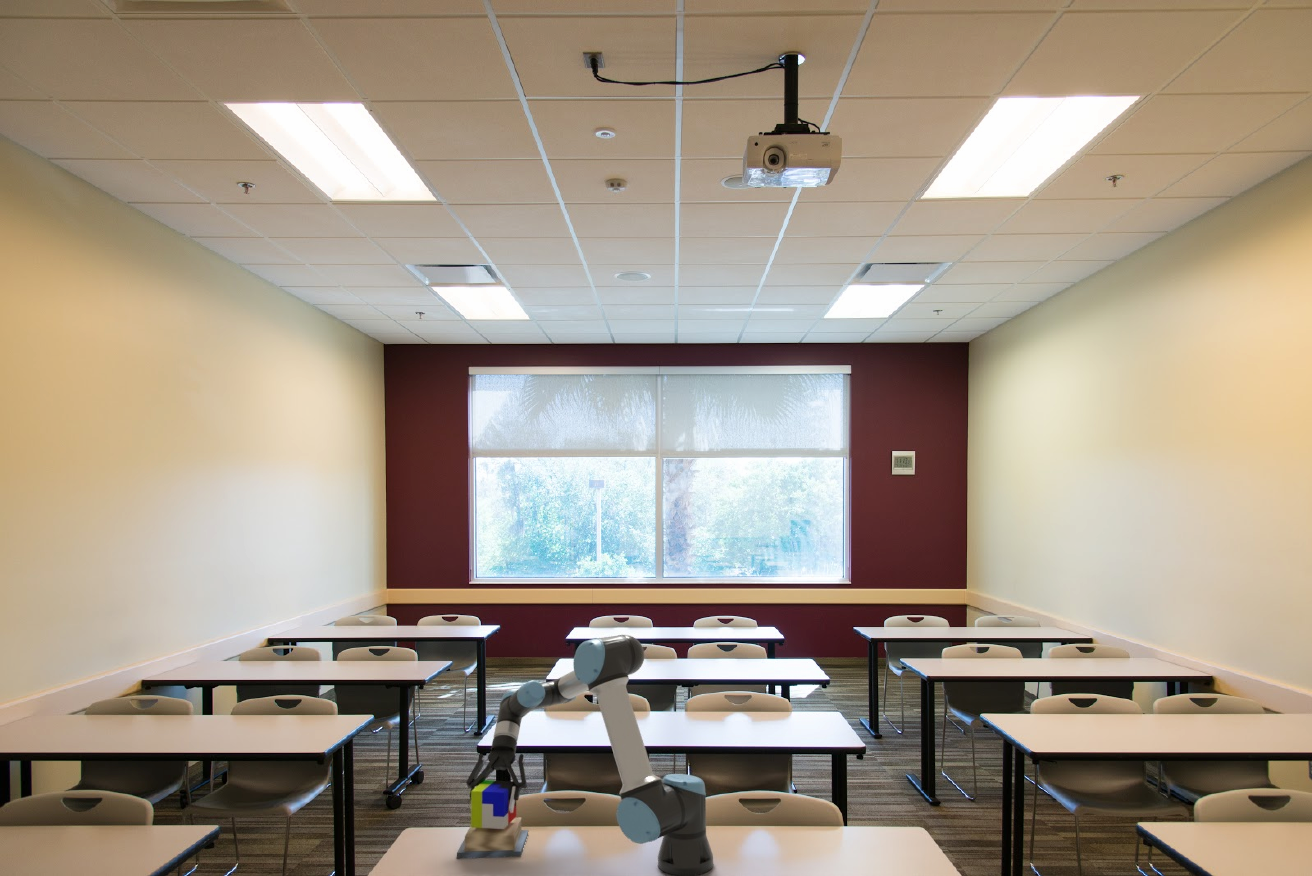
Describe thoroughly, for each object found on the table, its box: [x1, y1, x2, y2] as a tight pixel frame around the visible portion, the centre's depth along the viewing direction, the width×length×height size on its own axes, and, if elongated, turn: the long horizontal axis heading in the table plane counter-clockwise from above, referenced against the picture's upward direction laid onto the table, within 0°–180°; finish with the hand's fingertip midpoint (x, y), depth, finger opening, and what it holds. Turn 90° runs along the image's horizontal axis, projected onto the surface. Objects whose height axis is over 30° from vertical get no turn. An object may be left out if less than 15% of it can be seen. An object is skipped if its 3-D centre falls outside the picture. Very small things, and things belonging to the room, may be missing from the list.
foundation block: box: [456, 816, 529, 860], centre depth 234 cm, size 18×16×6 cm
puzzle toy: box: [470, 779, 517, 829], centre depth 235 cm, size 10×10×10 cm
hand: (491, 810), depth 232 cm, fingers closed on puzzle toy, 11 cm apart
